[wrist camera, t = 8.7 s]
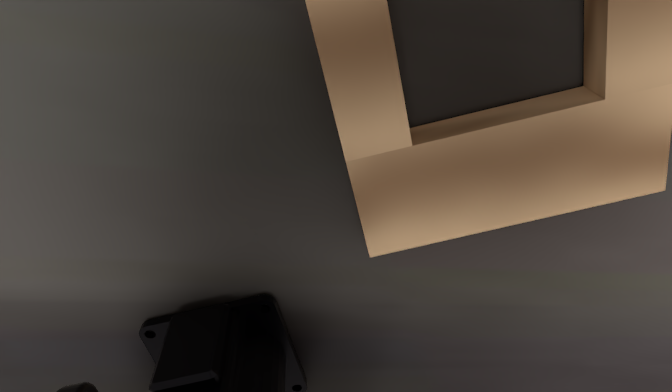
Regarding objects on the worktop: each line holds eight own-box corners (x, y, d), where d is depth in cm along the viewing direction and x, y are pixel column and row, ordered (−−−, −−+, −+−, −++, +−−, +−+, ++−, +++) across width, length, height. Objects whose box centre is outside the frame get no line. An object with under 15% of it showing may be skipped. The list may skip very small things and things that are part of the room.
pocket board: (641, 172, 22) (665, 190, 20) (365, 235, 22) (369, 257, 21) (679, -340, 14) (721, -368, 12) (252, -216, 14) (246, -229, 13)
